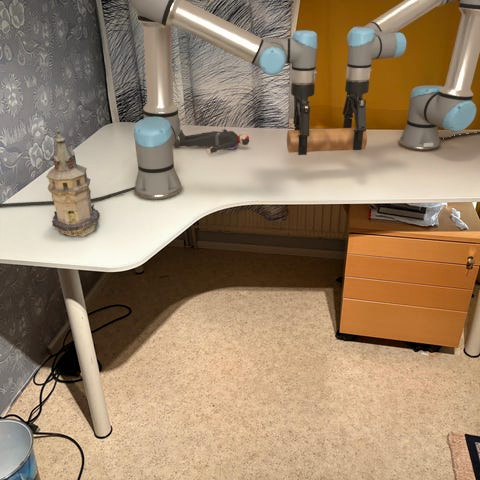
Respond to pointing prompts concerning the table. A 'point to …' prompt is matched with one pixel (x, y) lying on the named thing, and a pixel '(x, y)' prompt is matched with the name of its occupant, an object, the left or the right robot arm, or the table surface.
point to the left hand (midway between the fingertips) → (300, 150)
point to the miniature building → (70, 193)
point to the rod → (325, 140)
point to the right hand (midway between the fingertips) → (351, 143)
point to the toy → (212, 140)
